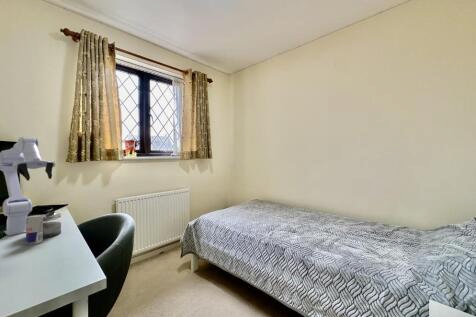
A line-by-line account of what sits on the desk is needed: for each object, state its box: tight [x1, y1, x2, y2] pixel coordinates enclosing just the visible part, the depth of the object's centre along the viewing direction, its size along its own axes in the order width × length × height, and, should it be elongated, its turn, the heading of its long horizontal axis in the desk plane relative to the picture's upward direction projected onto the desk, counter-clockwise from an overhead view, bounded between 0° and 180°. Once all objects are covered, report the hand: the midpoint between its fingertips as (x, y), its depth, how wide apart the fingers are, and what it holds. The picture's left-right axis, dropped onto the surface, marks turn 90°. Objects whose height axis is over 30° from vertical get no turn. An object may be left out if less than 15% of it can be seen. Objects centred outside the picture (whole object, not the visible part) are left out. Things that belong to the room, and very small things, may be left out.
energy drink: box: [25, 214, 44, 246], centre depth 97 cm, size 5×5×12 cm
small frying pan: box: [25, 210, 62, 224], centre depth 107 cm, size 19×13×1 cm
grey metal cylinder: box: [26, 221, 62, 240], centre depth 107 cm, size 13×13×5 cm
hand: (39, 178), depth 99 cm, fingers open, 7 cm apart
